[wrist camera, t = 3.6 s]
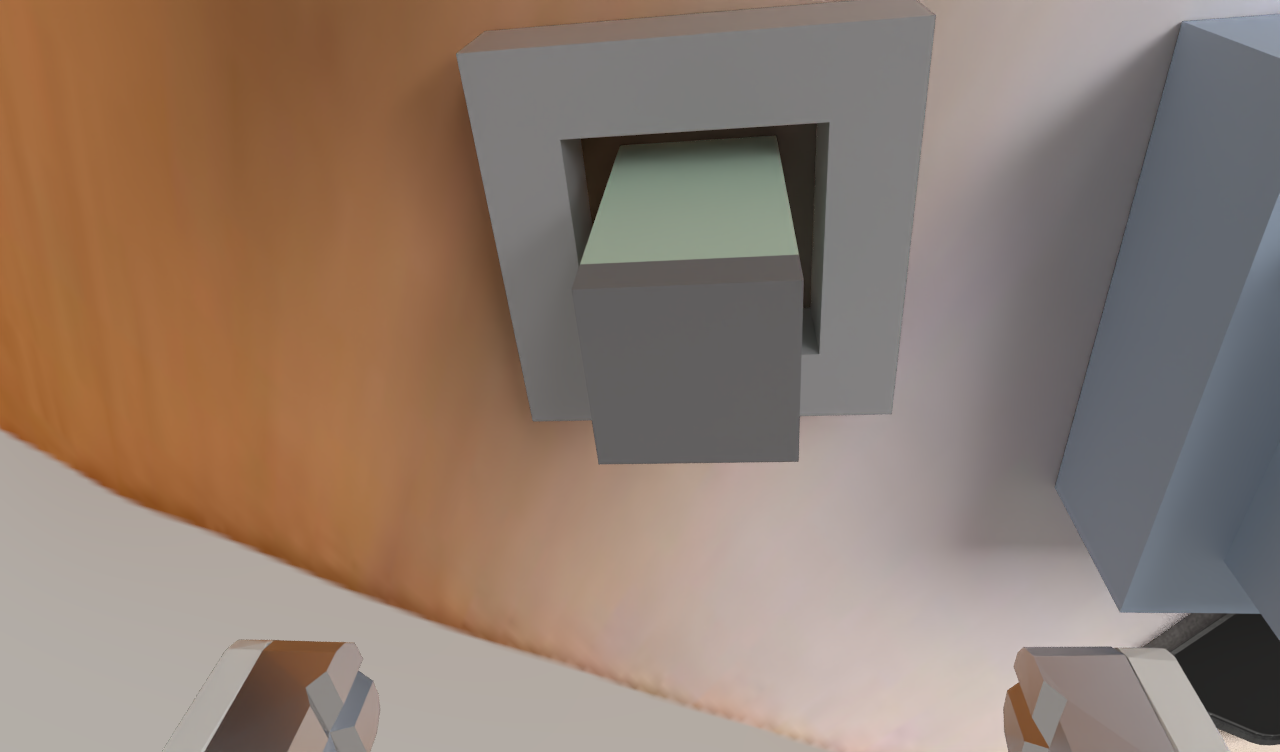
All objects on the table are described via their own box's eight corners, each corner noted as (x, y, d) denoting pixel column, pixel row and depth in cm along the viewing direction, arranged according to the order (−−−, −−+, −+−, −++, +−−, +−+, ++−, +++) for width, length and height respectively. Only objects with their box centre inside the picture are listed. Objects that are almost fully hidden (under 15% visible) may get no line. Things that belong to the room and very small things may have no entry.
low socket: (484, 31, 19) (455, 53, 17) (910, -5, 18) (935, 15, 16) (548, 373, 24) (532, 421, 22) (876, 363, 23) (891, 414, 21)
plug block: (619, 145, 20) (571, 289, 14) (776, 135, 20) (803, 280, 13) (634, 283, 22) (598, 464, 16) (775, 277, 22) (798, 461, 15)
